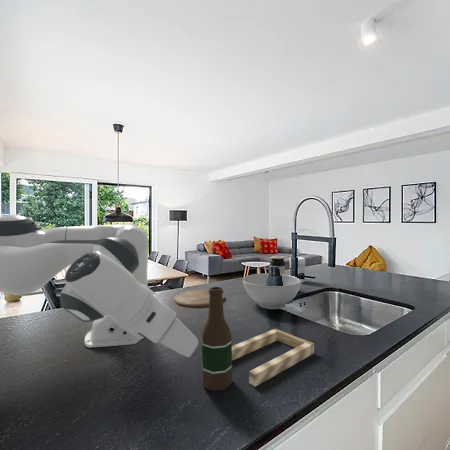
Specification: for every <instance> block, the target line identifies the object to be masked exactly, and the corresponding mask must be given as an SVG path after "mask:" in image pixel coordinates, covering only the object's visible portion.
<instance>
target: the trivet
mask: <svg viewBox="0 0 450 450" xmlns="http://www.w3.org/2000/svg"><path fill="white" fill-rule="evenodd" d="M173 299H174V303H175V304H176V305H178V306H180V307H181V306H182V307H186V308H195V309H196V308H207V307H208V308H209V299H210V294H209V289H193V290H186V291H182V292H179V293H177V294H176V295H175V296H174V298H173ZM222 299H223V302H224V301H225V299H226V298H225V294H224V292H223V293H222Z"/></svg>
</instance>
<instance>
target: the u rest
mask: <svg viewBox="0 0 450 450" xmlns="http://www.w3.org/2000/svg"><path fill="white" fill-rule="evenodd" d="M277 341H278V342H280V343H282V344H285V345H288V346H290V347H291V348H292V349H290V350H289V351H287V352H285V353H283V354H281V355H279V356H276V357H274V358H272V359H271V360H269V361H267V362H264V363H263V364H261V365H259V366H256V367H255V368H253V369H251V370H249V371H248V374H249V375H248V380H249V381H248V384H250V385H252V386H253V387H254V388H256V387H257V386H259V385H261V384H262V383H264V382H267V381H268V380H270V379H272V378H273V377H275V376H277V375H278V374H280V373H282V372H283V371H284V372H285V370H287V369H289V368H291V367H293V366H295V365H296V364H298V363H299V362H301V361H303V360H305V359H307V358H308V357H310V356H312V355H314V353H315V343H314V342H311V341H309V340H306V339H304V338H300V337H298V336H297V335H296V336H295V335H293V334H290V333H288V332H285V331H282V330H280V329H278V328H273V329H271V330H268V331H266V332H264V333H260V334H258V335H257V336H256V335H255V336H253V337H251V338H249V339H247V340H244V341H241V342H238V343H237V344H234V345H232V362H233V361H234V360H237V359H239V358H242V357H243V356H245V355H246V356H247V355H248V354H250V353H253V352H255V351H257V350H259V349H261V348H263V347H266V346H268V345H270V344H272V343H274V342H277Z"/></svg>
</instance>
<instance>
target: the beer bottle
mask: <svg viewBox="0 0 450 450" xmlns="http://www.w3.org/2000/svg"><path fill="white" fill-rule="evenodd" d="M208 290H209V294H210V299H209V307H208V316H207V320H206V322H205V323H204V324H203V327H202V329H201V340H200V341H201V379H202V384H203V388H205V389H206V390H208V391H212V392H219V391H226V389H228V388H229V387H230V386H231V385H232V382H233V361H232V346H233V343H232V342H233V341H232V339H233V338H232V332H231V329H230V326H229V325H228V323H227V322H226V320H225V315H224V301H223V299H222V293H223V294H224V289H223V287H220V286H212V287H209V289H208Z"/></svg>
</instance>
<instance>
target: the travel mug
mask: <svg viewBox="0 0 450 450" xmlns="http://www.w3.org/2000/svg"><path fill="white" fill-rule="evenodd" d="M270 258H271V261H270V267H271V266H277V267H279V268H280V274H285V275H286V262H285V261H284V260H285V256H282V255H273V256H270Z"/></svg>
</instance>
